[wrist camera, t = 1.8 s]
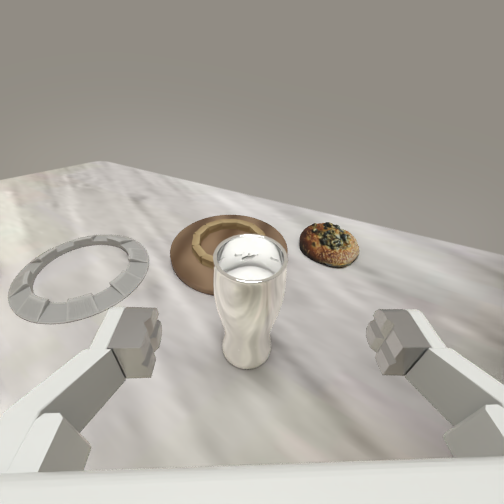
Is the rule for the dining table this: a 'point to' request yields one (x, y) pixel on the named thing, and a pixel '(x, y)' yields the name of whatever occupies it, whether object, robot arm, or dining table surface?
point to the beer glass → (248, 295)
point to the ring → (81, 306)
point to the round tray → (211, 246)
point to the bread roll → (329, 244)
